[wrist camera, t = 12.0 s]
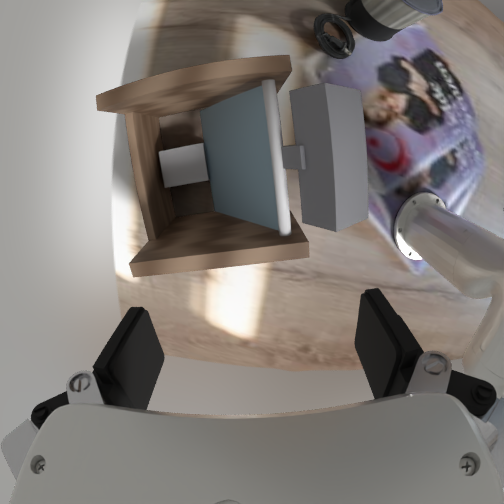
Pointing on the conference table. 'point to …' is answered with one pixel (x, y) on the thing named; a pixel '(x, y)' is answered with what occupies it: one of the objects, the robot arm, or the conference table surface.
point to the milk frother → (372, 21)
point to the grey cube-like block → (184, 165)
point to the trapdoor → (289, 156)
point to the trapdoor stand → (158, 197)
